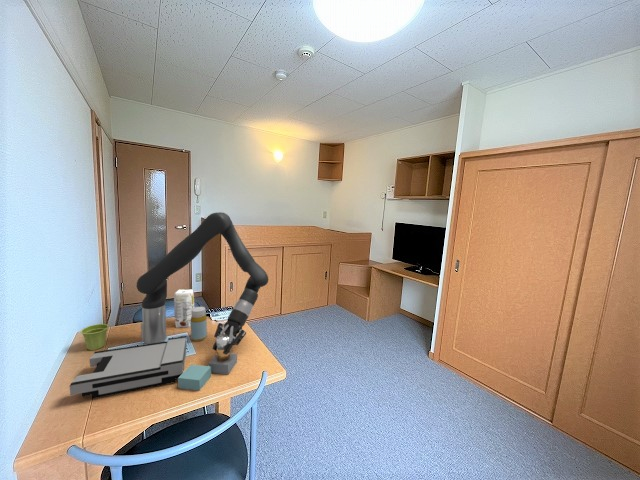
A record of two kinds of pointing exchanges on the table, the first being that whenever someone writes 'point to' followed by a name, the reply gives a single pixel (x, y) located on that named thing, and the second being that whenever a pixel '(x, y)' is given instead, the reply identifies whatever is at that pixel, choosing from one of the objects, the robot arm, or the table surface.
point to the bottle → (198, 324)
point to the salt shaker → (222, 347)
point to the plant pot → (95, 336)
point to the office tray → (132, 368)
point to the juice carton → (183, 307)
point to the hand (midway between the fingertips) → (219, 351)
